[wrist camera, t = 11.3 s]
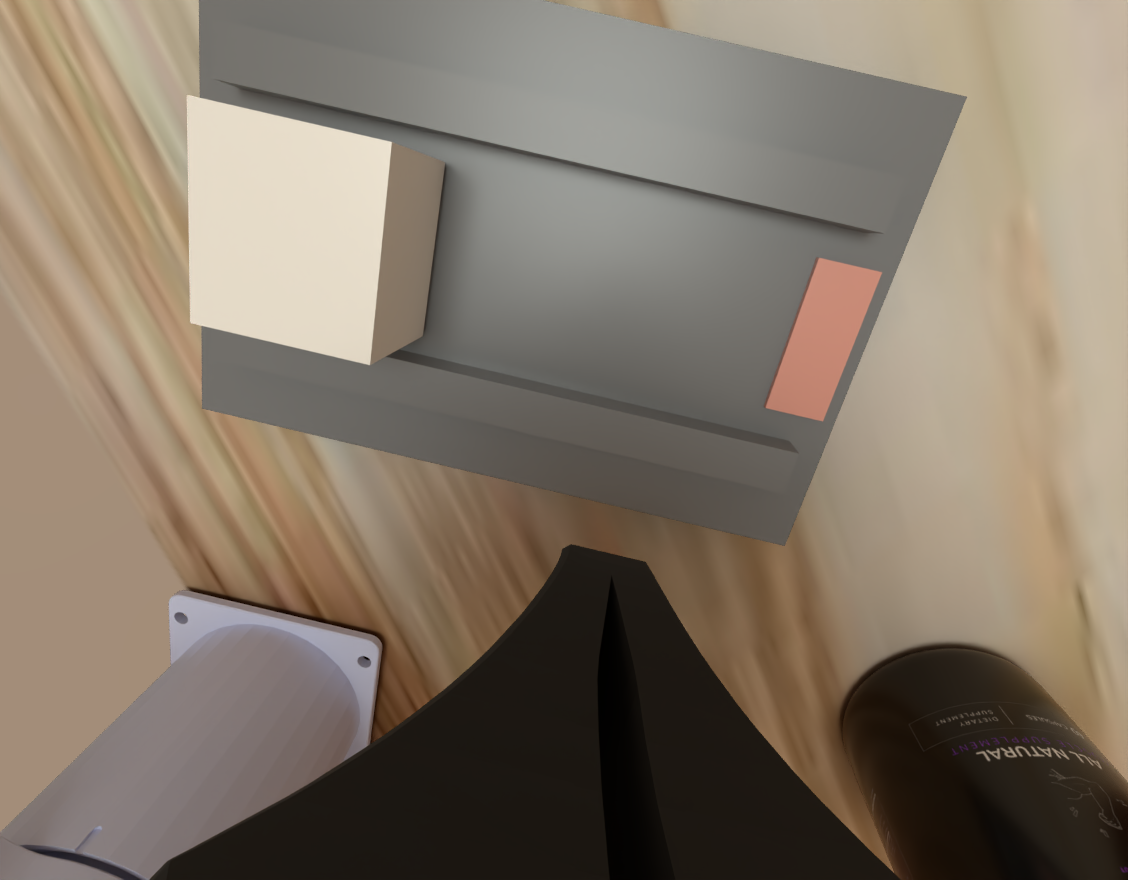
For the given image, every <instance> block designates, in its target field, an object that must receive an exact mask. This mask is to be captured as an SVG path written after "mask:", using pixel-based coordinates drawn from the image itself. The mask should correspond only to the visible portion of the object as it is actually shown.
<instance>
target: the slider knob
mask: <svg viewBox="0 0 1128 880" xmlns="http://www.w3.org/2000/svg"><path fill="white" fill-rule="evenodd" d="M187 138H188V206H189V274H190V323H192V324H197V325H201V326H205V327H209V328H214V329H218V330H222V331H226V332H231V333H235V334H239V335H243V336H248V337H252V338H256V339H261V340H265V341H269V342H273V343H278V344H282V345H286V346H290V347H295V348H299V349H303V350H307V351H312V352H316V353H320V354H324V355H329V356H333V357H337V358H341V359H346V360H350V361H354V362H359V363H363V364H367V365H371V364H373V363H375V362H377V361H378V360H380V359H382V358H384V357H386V356H388V355H389V354H391V353H393V352H395V351H397V350H399V349H400V348H402V347H404V346H406V345H408V344H409V343H411V342H413V341H415V340H417V339H419V338H420V337H422V336H423V331H424V323H425V315H426V307H427V300H428V292H429V284H430V276H431V269H432V261H433V253H434V245H435V238H436V230H437V222H438V214H439V207H440V199H441V191H442V183H443V176H444V168H445V162H443V161H441V160H438V159H435V158H433V157H430V156H427V155H425V154H422V153H420V152H417V151H414V150H412V149H409V148H406V147H404V146H401V145H398V144H396V143H393V142H390V141H385V140H381V139H377V138H372V137H368V136H364V135H359V134H355V133H351V132H346V131H342V130H338V129H333V128H329V127H325V126H320V125H316V124H312V123H307V122H303V121H299V120H294V119H290V118H286V117H281V116H277V115H273V114H268V113H264V112H260V111H255V110H251V109H247V108H242V107H238V106H234V105H229V104H225V103H221V102H216V101H212V100H208V99H203V98H199V97H195V96H190V95H187Z"/></svg>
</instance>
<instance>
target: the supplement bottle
mask: <svg viewBox="0 0 1128 880" xmlns="http://www.w3.org/2000/svg"><path fill="white" fill-rule="evenodd" d="M842 735H843V743H844V747H845V750H846V754H847V757H848V759H849V762H850V764H851V767H852V769H853V772H854V775H855V777H856V780H857V782H858V785H859V787H860V790H861V792H862V795H863V797H864V799H865V802H866V804H867V807H868V809H869V812H870V814H871V817H872V819H873V821H874V824H875V826H876V829H877V831H878V834H879V836H880V839H881V841H882V844H883V846H884V848H885V851H886V853H887V856H888V858H889V861H890V863H891V866H892V868H893V870H894V873H895V875H896V876H898V877H899V878H900V879H901V880H1128V782H1127V781H1126V779H1125V778H1124V777H1123V776H1122V775H1121V774H1120V773H1119V772H1118V771H1117V769H1116V768H1115V767H1114V766H1113V765H1112V764H1111V763H1110V762H1109V760H1108V759H1107V758H1106V757H1105V756H1104V755H1103V754H1102V753H1101V752H1100V750H1099V749H1098V748H1097V747H1096V746H1095V745H1094V744H1093V743H1092V741H1091V740H1090V739H1089V738H1088V737H1087V736H1086V735H1085V734H1084V733H1083V731H1082V730H1081V729H1080V728H1079V727H1078V726H1077V725H1076V724H1075V723H1074V721H1073V720H1072V719H1071V718H1070V717H1069V716H1068V715H1067V714H1066V712H1065V711H1064V710H1063V709H1062V708H1061V707H1060V706H1059V705H1058V704H1057V703H1056V702H1055V701H1054V700H1053V698H1052V697H1051V696H1050V695H1049V694H1048V693H1047V692H1046V691H1045V690H1044V689H1043V688H1042V686H1041V685H1040V684H1039V683H1037V682H1036V681H1035V680H1034V679H1033V678H1032V677H1031V676H1030V675H1029V674H1028V673H1026V672H1025V671H1024V670H1022V669H1021V668H1019V667H1018V666H1016V665H1014V664H1013V663H1011V662H1009V661H1007V660H1005V659H1003V658H1000V657H997V656H995V655H992V654H988V653H985V652H981V651H976V650H970V649H961V648H939V649H931V650H925V651H920V652H916V653H912V654H909V655H906V656H903V657H901V658H898V659H896V660H894V661H892V662H890V663H888V664H886V665H884V666H883V667H881V668H880V669H878V670H877V671H875V672H874V673H873V674H871V675H870V676H869V677H868V678H867V679H866V680H865V681H864V682H863V683H862V684H861V685H860V686H859V687H858V689H857V690H856V691H855V693H854V694H853V696H852V698H851V699H850V701H849V703H848V706H847V708H846V711H845V715H844V719H843V726H842Z"/></svg>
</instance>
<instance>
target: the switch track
mask: <svg viewBox="0 0 1128 880" xmlns="http://www.w3.org/2000/svg"><path fill="white" fill-rule="evenodd" d="M199 61H200V98H203V99H208V100H212V101H216V102H221V103H225V104H229V105H234V106H238V107H242V108H247V109H251V110H255V111H260V112H264V113H268V114H273V115H277V116H281V117H286V118H290V119H294V120H299V121H303V122H307V123H312V124H316V125H320V126H325V127H329V128H333V129H338V130H342V131H346V132H351V133H355V134H359V135H364V136H368V137H372V138H377V139H381V140H385V141H390V142H393V143H396V144H398V145H401V146H404V147H406V148H409V149H412V150H414V151H417V152H420V153H422V154H425V155H427V156H430V157H433V158H435V159H438V160H441V161H443V162H445V168H444V176H443V183H442V191H441V199H440V207H439V214H438V222H437V230H436V238H435V245H434V253H433V261H432V269H431V276H430V284H429V292H428V300H427V307H426V315H425V323H424V331H423V336H422V337H420V338H419V339H417V340H415V341H413V342H411V343H409V344H408V345H406V346H404V347H402V348H400V349H399V350H397V351H395V352H393V353H391V354H389V355H388V356H386V357H384V358H382V359H380V360H378V361H377V362H375V363H373V364H371V365H367V364H363V363H359V362H354V361H350V360H346V359H341V358H337V357H333V356H329V355H324V354H320V353H316V352H312V351H307V350H303V349H299V348H295V347H290V346H286V345H282V344H278V343H273V342H269V341H265V340H261V339H256V338H252V337H248V336H243V335H239V334H235V333H231V332H226V331H222V330H218V329H214V328H209V327H205V326H202V409H206V410H211V411H215V412H219V413H223V414H228V415H232V416H236V417H240V418H245V419H249V420H253V421H257V422H262V423H266V424H270V425H274V426H279V427H283V428H287V429H291V430H295V431H300V432H304V433H308V434H312V435H317V436H321V437H325V438H329V439H334V440H338V441H342V442H346V443H351V444H355V445H359V446H363V447H368V448H372V449H376V450H380V451H384V452H389V453H393V454H397V455H401V456H406V457H410V458H414V459H418V460H423V461H427V462H431V463H435V464H440V465H444V466H448V467H452V468H457V469H461V470H465V471H469V472H473V473H478V474H482V475H486V476H490V477H495V478H499V479H503V480H507V481H512V482H516V483H520V484H524V485H529V486H533V487H537V488H541V489H546V490H550V491H554V492H558V493H562V494H567V495H571V496H575V497H579V498H584V499H588V500H592V501H596V502H601V503H605V504H609V505H613V506H618V507H622V508H626V509H630V510H634V511H639V512H643V513H647V514H651V515H656V516H660V517H664V518H668V519H673V520H677V521H681V522H685V523H690V524H694V525H698V526H702V527H707V528H711V529H715V530H719V531H723V532H728V533H732V534H736V535H740V536H745V537H749V538H753V539H757V540H762V541H766V542H770V543H774V544H779V545H783V546H785V544H786V541H787V539H788V537H789V534H790V532H791V529H792V527H793V524H794V522H795V519H796V517H797V514H798V512H799V509H800V507H801V505H802V502H803V500H804V497H805V495H806V492H807V490H808V487H809V485H810V482H811V480H812V477H813V475H814V473H815V470H816V468H817V465H818V463H819V460H820V458H821V455H822V453H823V450H824V448H825V445H826V443H827V440H828V438H829V436H830V433H831V431H832V428H833V426H834V423H835V421H836V418H837V416H838V413H839V411H840V408H841V406H842V404H843V401H844V399H845V396H846V394H847V391H848V389H849V386H850V384H851V381H852V379H853V376H854V374H855V371H856V369H857V367H858V364H859V362H860V359H861V357H862V354H863V352H864V349H865V347H866V344H867V342H868V339H869V337H870V335H871V332H872V330H873V327H874V325H875V322H876V320H877V317H878V315H879V312H880V310H881V307H882V305H883V303H884V300H885V298H886V295H887V293H888V290H889V288H890V285H891V283H892V280H893V278H894V275H895V273H896V270H897V268H898V266H899V263H900V261H901V258H902V256H903V253H904V251H905V248H906V246H907V243H908V241H909V238H910V236H911V234H912V231H913V229H914V226H915V224H916V221H917V219H918V216H919V214H920V211H921V209H922V206H923V204H924V201H925V199H926V197H927V194H928V192H929V189H930V187H931V184H932V182H933V179H934V177H935V174H936V172H937V169H938V167H939V165H940V162H941V160H942V157H943V155H944V152H945V150H946V147H947V145H948V142H949V140H950V137H951V135H952V133H953V130H954V128H955V125H956V123H957V120H958V118H959V115H960V113H961V110H962V108H963V105H964V103H965V100H966V98H967V97H966V96H961V95H957V94H952V93H948V92H944V91H939V90H935V89H930V88H926V87H922V86H917V85H913V84H908V83H904V82H900V81H895V80H891V79H887V78H882V77H878V76H873V75H869V74H865V73H860V72H856V71H851V70H847V69H843V68H838V67H834V66H830V65H825V64H821V63H816V62H812V61H808V60H803V59H799V58H794V57H790V56H786V55H781V54H777V53H772V52H768V51H764V50H759V49H755V48H751V47H746V46H742V45H737V44H733V43H729V42H724V41H720V40H715V39H711V38H707V37H702V36H698V35H694V34H689V33H685V32H680V31H676V30H672V29H667V28H663V27H658V26H654V25H650V24H645V23H641V22H636V21H632V20H628V19H623V18H619V17H615V16H610V15H606V14H601V13H597V12H593V11H588V10H584V9H579V8H575V7H571V6H566V5H562V4H558V3H553V2H549V1H544V0H199Z"/></svg>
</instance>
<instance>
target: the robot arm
mask: <svg viewBox="0 0 1128 880" xmlns="http://www.w3.org/2000/svg"><path fill="white" fill-rule="evenodd" d="M183 613H184V614H185V615H186V616H185V615H184V614H183ZM169 627H170V655H171V666H170V667H169V668H168V669H167V670H166V671H165V672H164V673H163V674H162V675H161V676H160V677H159V678H158V679H157V680H156V681H155V682H154V683H153V684H152V685H151V686H150V687H149V688H148V689H147V690H146V691H145V692H144V693H143V694H141V695H140V696H139V697H138V698H137V699H136V701H134V702H133V703H132V704H131V705H130V706H129V707H128V708H127V709H126V710H125V711H124V712H123V713H122V714H121V715H120V716H119V717H118V718H117V719H116V720H115V721H114V722H113V723H112V724H111V725H110V726H109V727H108V728H107V729H106V730H105V731H104V732H103V733H102V734H100V735H99V736H98V737H97V738H96V739H95V740H94V741H93V742H92V743H91V744H90V745H89V746H88V747H87V748H86V749H85V750H84V751H83V752H82V753H81V754H80V755H79V756H78V757H77V758H76V759H75V760H74V761H73V762H72V763H71V764H70V765H69V766H68V767H67V768H66V769H65V770H64V771H63V772H62V773H61V774H60V775H58V776H57V777H56V778H55V780H54V781H52V782H51V783H50V784H49V785H48V786H47V787H46V788H45V789H44V790H43V791H42V792H41V793H40V794H39V795H38V796H37V797H36V798H35V799H34V800H33V801H32V802H31V803H30V804H29V805H28V806H27V807H26V808H25V809H24V810H23V811H22V812H21V813H20V814H19V815H17V816H16V817H15V818H14V819H13V820H12V821H11V822H10V823H9V824H8V825H7V826H6V827H5V828H4V829H3V830H2V831H1V832H0V880H901V879H900V878H899V877H898V876H896V875H895V874H894V873H893V872H892V871H891V870H890V869H889V868H888V867H887V866H886V865H885V864H884V863H883V862H882V861H881V860H879V859H878V858H877V857H876V856H875V855H874V854H873V853H872V852H871V851H870V850H869V849H868V848H867V847H866V846H865V845H864V844H863V843H862V842H861V841H860V840H859V839H858V838H857V837H856V836H855V835H854V834H853V833H852V832H851V831H850V830H849V829H848V828H847V827H846V826H845V825H844V824H843V823H842V822H841V821H840V820H839V819H838V818H837V817H836V816H835V815H834V814H833V813H832V812H831V811H830V810H829V809H828V808H827V807H826V806H825V805H824V804H823V803H822V802H821V801H820V800H819V798H818V797H817V796H816V795H815V794H814V793H813V792H812V791H811V790H810V789H809V788H808V787H807V786H806V784H805V783H804V782H803V781H802V780H801V779H800V778H799V777H798V776H797V775H796V774H795V773H794V771H793V770H792V769H791V768H790V767H789V766H788V765H787V763H786V762H785V761H784V760H783V759H782V758H781V756H780V755H779V754H778V753H777V752H776V751H775V749H774V748H773V747H772V746H771V745H770V744H769V742H768V741H767V740H766V739H765V738H764V737H763V735H762V734H761V733H760V732H759V731H758V730H757V728H756V727H755V726H754V725H753V723H752V722H751V721H750V720H749V718H748V717H747V716H746V715H745V713H744V712H743V711H742V710H741V708H740V707H739V706H738V705H737V703H736V702H735V700H734V699H733V698H732V696H731V695H730V694H729V692H728V691H727V690H726V688H725V687H724V686H723V684H722V683H721V681H720V680H719V679H718V677H717V676H716V675H715V673H714V672H713V671H712V669H711V668H710V666H709V665H708V663H707V662H706V660H705V659H704V657H703V656H702V655H701V653H700V652H699V650H698V648H697V647H696V645H695V644H694V642H693V641H692V639H691V638H690V636H689V634H688V633H687V631H686V630H685V628H684V627H683V625H682V623H681V622H680V620H679V618H678V617H677V615H676V613H675V612H674V610H673V608H672V606H671V605H670V603H669V601H668V600H667V598H666V596H665V594H664V593H663V591H662V589H661V587H660V586H659V584H658V582H657V581H656V579H655V577H654V575H653V574H652V572H651V570H650V569H649V567H648V565H647V564H646V562H643V561H639V560H635V559H631V558H627V557H622V556H618V555H614V554H610V553H605V552H601V551H597V550H593V549H589V548H584V547H580V546H576V545H572V544H571V545H569V546H567V547H565V548H563V549H562V553H561V557H560V559H559V561H558V563H557V565H556V567H555V569H554V570H553V572H552V574H551V575H550V577H549V578H548V580H547V581H546V583H545V584H544V586H543V587H542V588H541V590H540V591H539V592H538V594H537V595H536V596H535V598H534V599H533V600H532V602H531V603H530V604H529V605H528V607H527V608H526V609H525V611H524V612H523V613H522V614H521V615H520V616H519V618H518V619H517V620H516V621H515V622H514V623H513V624H512V625H511V626H510V627H509V628H508V630H507V631H506V632H505V633H504V634H503V635H502V636H501V637H500V638H499V639H498V640H497V642H496V643H495V644H494V645H493V646H492V647H491V648H490V649H489V650H488V651H487V652H486V653H485V654H484V655H483V656H482V657H480V658H479V659H478V660H477V661H476V662H475V663H474V664H473V665H472V666H471V667H470V668H469V669H468V670H466V671H465V672H464V673H463V674H462V675H461V676H460V677H458V678H457V679H456V680H455V681H454V682H453V683H452V684H450V685H449V686H448V687H447V688H446V689H444V690H443V691H442V692H441V693H439V694H438V695H437V696H436V697H434V698H433V699H432V700H430V701H429V702H428V703H427V704H425V705H424V706H423V707H422V708H420V709H419V710H418V711H416V712H415V713H414V714H413V715H411V716H410V717H409V718H407V719H406V720H405V721H403V722H402V723H400V724H399V725H398V726H396V727H395V728H394V729H392V730H391V731H389V732H388V733H386V734H385V735H384V736H382V737H381V738H379V739H378V740H376V741H374V742H373V743H371V744H370V740H371V732H372V724H373V717H374V709H375V701H376V693H377V686H378V678H379V670H380V662H381V655H382V643H381V641H380V640H379V639H378V638H377V637H376V636H373V635H371V634H367V633H363V632H359V631H355V630H350V629H346V628H342V627H338V626H334V625H329V624H325V623H321V622H317V621H313V620H309V619H304V618H300V617H296V616H292V615H288V614H283V613H279V612H275V611H271V610H267V609H263V608H258V607H254V606H250V605H246V604H242V603H237V602H233V601H229V600H225V599H221V598H217V597H212V596H208V595H204V594H200V593H196V592H191V591H187V590H182V591H179V592H177V593H176V594H175V595H173V596H172V597H171V598H170V600H169ZM363 656H365V657H367V658H369V659H370V660H366V659H364V657H363Z"/></svg>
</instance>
